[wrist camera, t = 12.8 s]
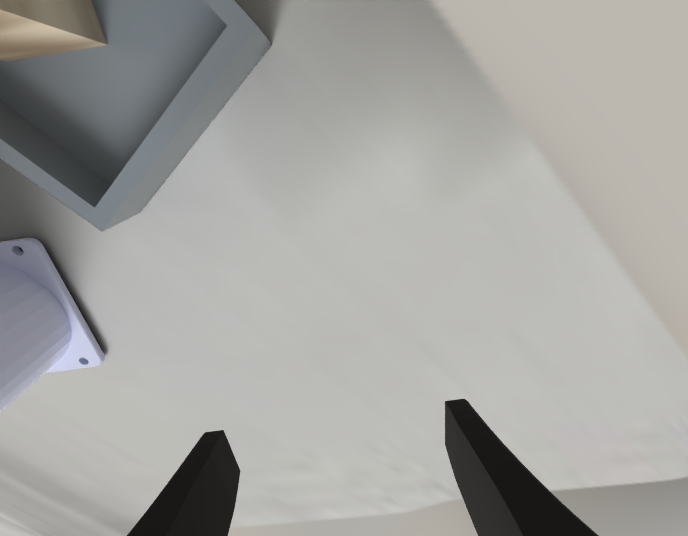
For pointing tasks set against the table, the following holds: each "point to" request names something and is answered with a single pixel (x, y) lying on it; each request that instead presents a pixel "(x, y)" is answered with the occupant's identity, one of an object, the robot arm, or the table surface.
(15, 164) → the tray
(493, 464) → the robot arm
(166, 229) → the table surface
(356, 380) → the table surface
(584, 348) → the table surface
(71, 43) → the block
